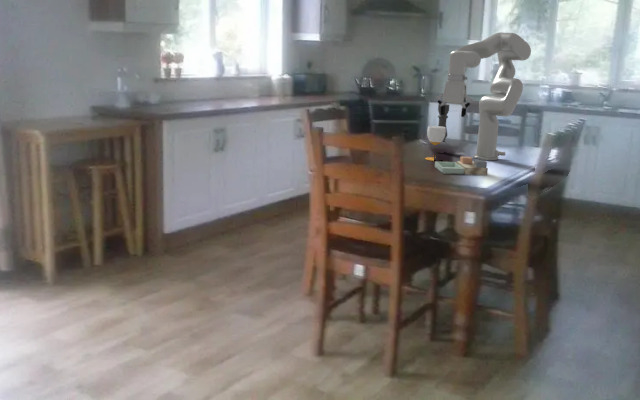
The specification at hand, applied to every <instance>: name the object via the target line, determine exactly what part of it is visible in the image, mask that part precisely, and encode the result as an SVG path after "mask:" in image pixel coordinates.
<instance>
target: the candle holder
mask: <svg viewBox="0 0 640 400" xmlns="http://www.w3.org/2000/svg"><path fill="white" fill-rule="evenodd" d="M437 111H438V114H439V115H438V116H437V118H438V125H437V126H441V127H445V128H446V133H445V137H444V139H443V142H445V143H446V139H447V137H448V129H447V119H448V118H449V116H448V113H449V111H450V104H449V103H446V104H445V114H444V115H441V106H440V104H439V103H438V105H437Z"/></svg>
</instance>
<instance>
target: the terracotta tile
mask: <svg viewBox="0 0 640 400" xmlns="http://www.w3.org/2000/svg"><path fill="white" fill-rule="evenodd" d="M459 161H460V162H461V163H462V164H472V162H473V161H474V160H473V157H471V156H462V155H461V156H460V158H459Z"/></svg>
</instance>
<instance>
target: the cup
mask: <svg viewBox="0 0 640 400" xmlns="http://www.w3.org/2000/svg"><path fill="white" fill-rule="evenodd" d="M446 128H447V127H446ZM446 128H445V127H441V126H438V125H428V126H427V130H426V132H427V134H426V135H427V138H428V139H427V140H428V141H429V142H430V143H431V144H432V145H433V146H434V145H437V144H440V143H441V142H442V141H443V139H444V137H445V133H446ZM424 159H425V160H427V161H431V162H435V161H434V156H433V157H431V156H430V157H425V158H424Z"/></svg>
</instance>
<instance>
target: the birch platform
mask: <svg viewBox="0 0 640 400" xmlns="http://www.w3.org/2000/svg"><path fill="white" fill-rule="evenodd" d="M456 163H457V164H458V165H460V166H461V167H462V168H464V174H463V175H473V176H474V175H475V176H478V175H479V176H488V167H486V168H476V167H475V166H474V161H472V164H462V163H461V162H460V160H457V161H456Z"/></svg>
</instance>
